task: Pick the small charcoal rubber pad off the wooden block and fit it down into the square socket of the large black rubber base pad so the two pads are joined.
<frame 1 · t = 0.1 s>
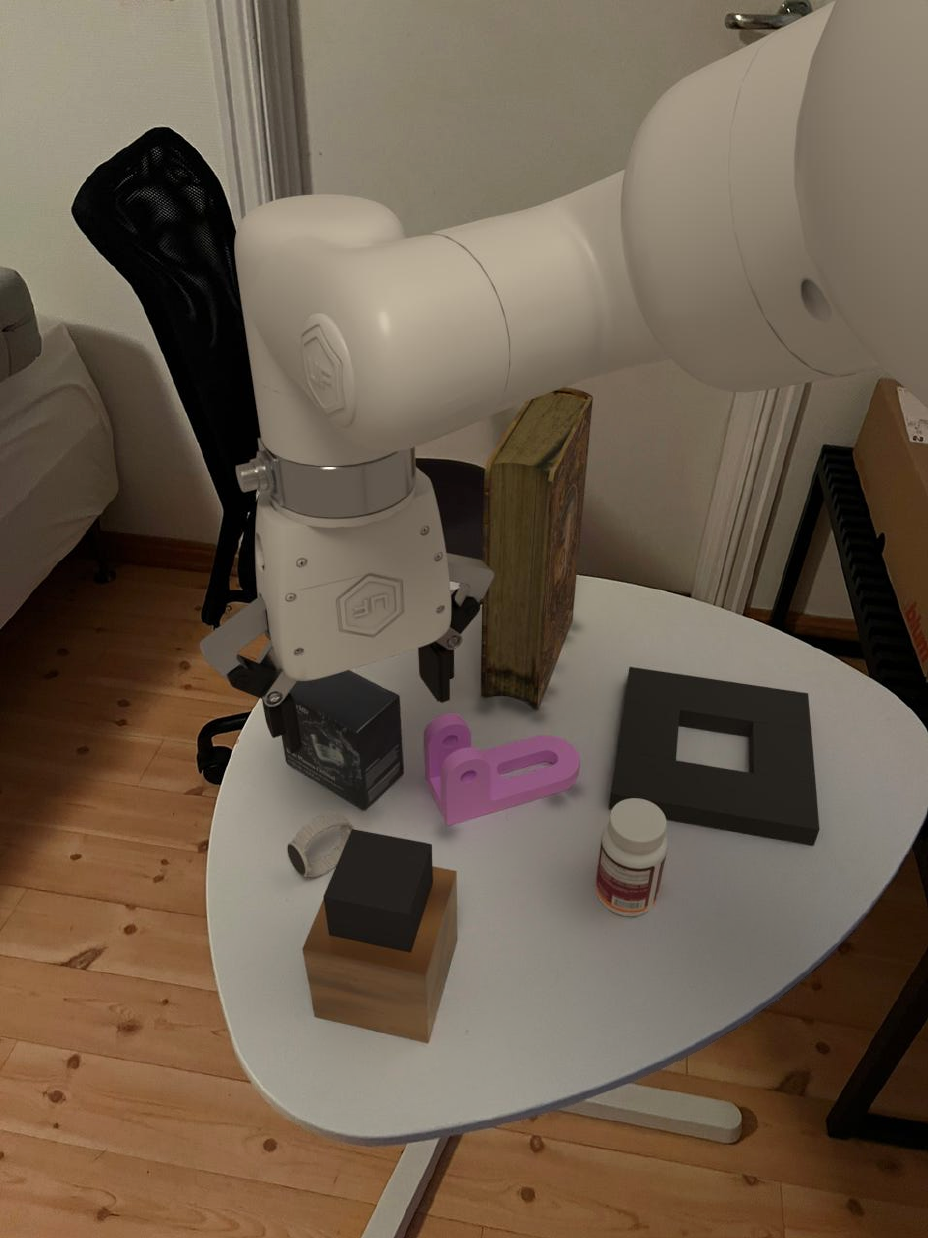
hand: (363, 712, 58), 20 cm above the table, tool pointing down, fingers open, 9 cm apart
base pad: (711, 756, 82), on the table
pill bottle: (625, 893, 71), on the table
book: (530, 656, 93), on the table
bracket: (507, 782, 80), on the table
pad: (382, 908, 61), point 8 cm above the table, touching wooden block
wristwatch: (326, 867, 73), on the table
wooden block: (388, 977, 65), on the table
box: (344, 771, 81), on the table
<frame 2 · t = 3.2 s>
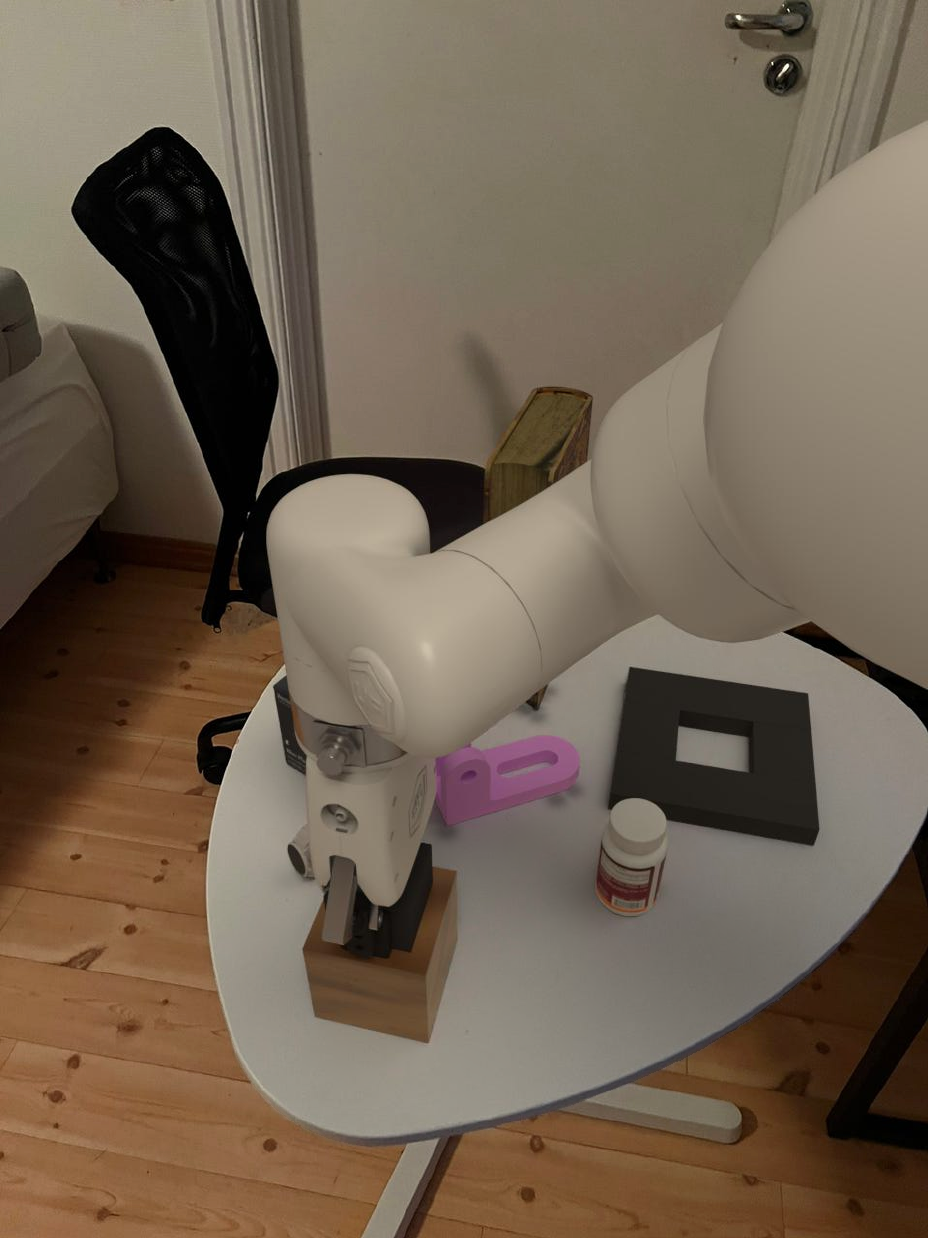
hand: (381, 906, 60), 8 cm above the table, tool pointing down, fingers open, 5 cm apart
pad: (382, 908, 61), point 8 cm above the table, touching gripper, wooden block
everything else where it was.
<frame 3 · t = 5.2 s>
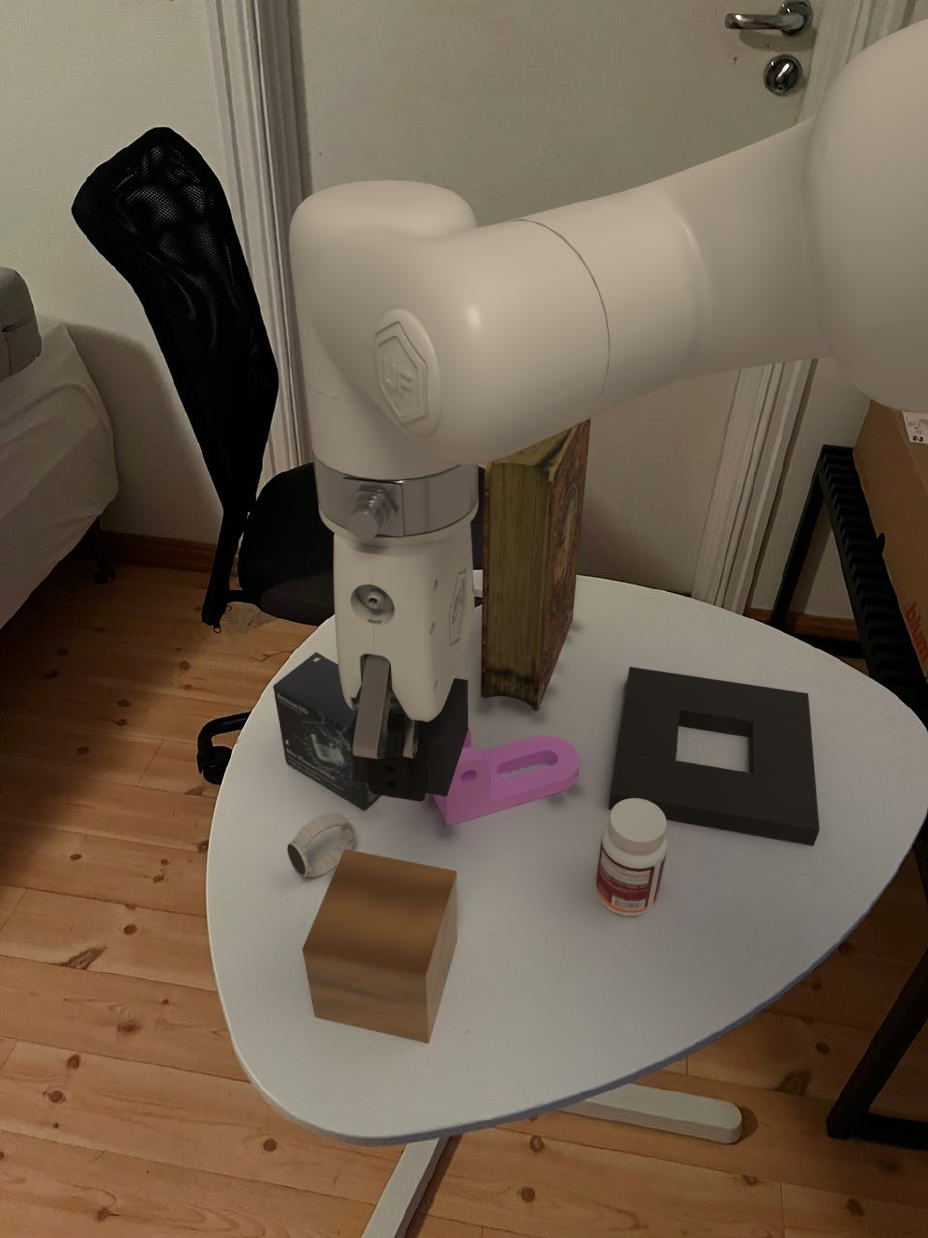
hand: (412, 752, 54), 21 cm above the table, tool pointing down, fingers closed on pad, 5 cm apart
pad: (412, 755, 54), point 21 cm above the table, touching gripper
everything else where it was.
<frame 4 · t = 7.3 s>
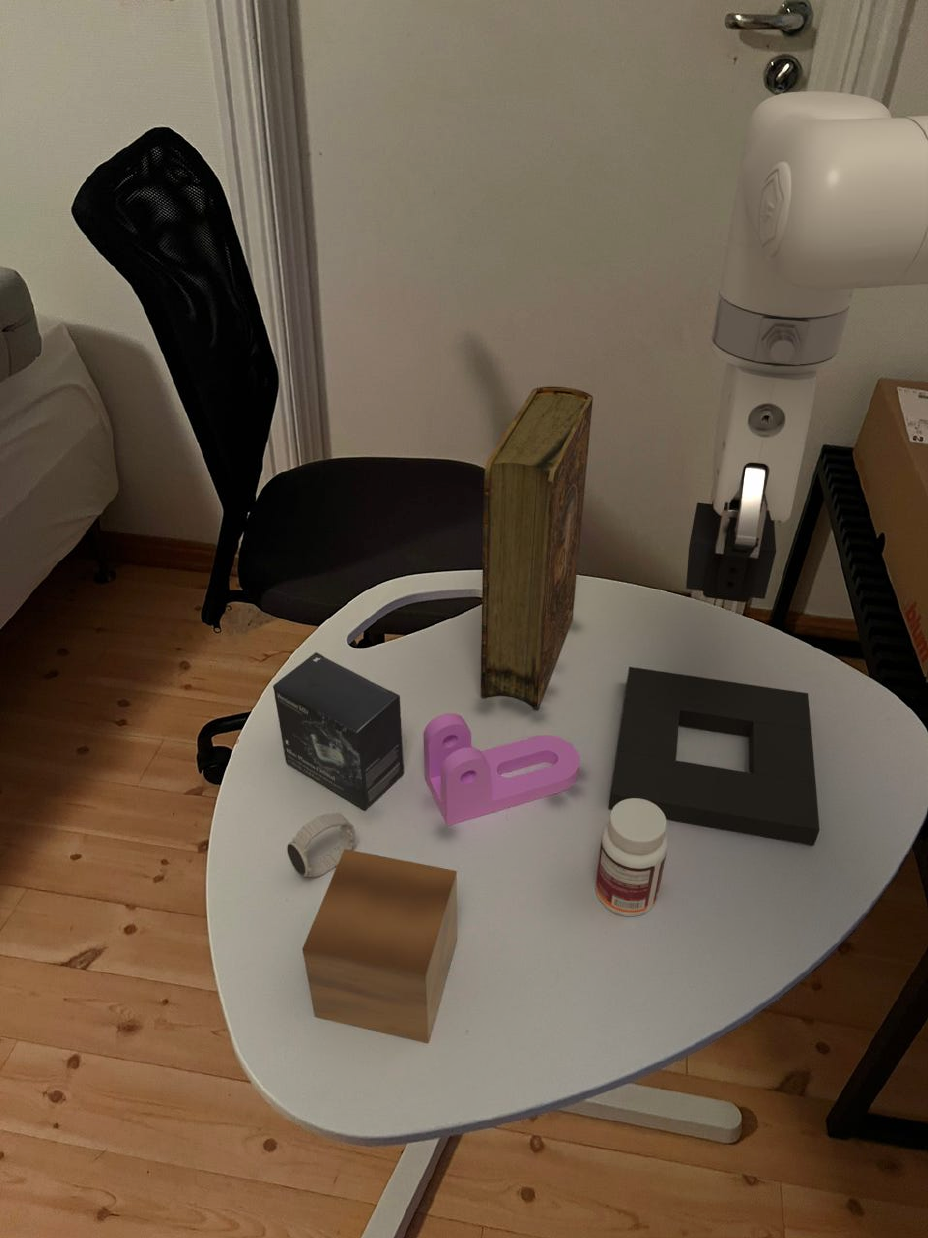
hand: (726, 570, 67), 21 cm above the table, tool pointing down, fingers closed on pad, 5 cm apart
pad: (725, 572, 68), point 21 cm above the table, touching gripper
everything else where it was.
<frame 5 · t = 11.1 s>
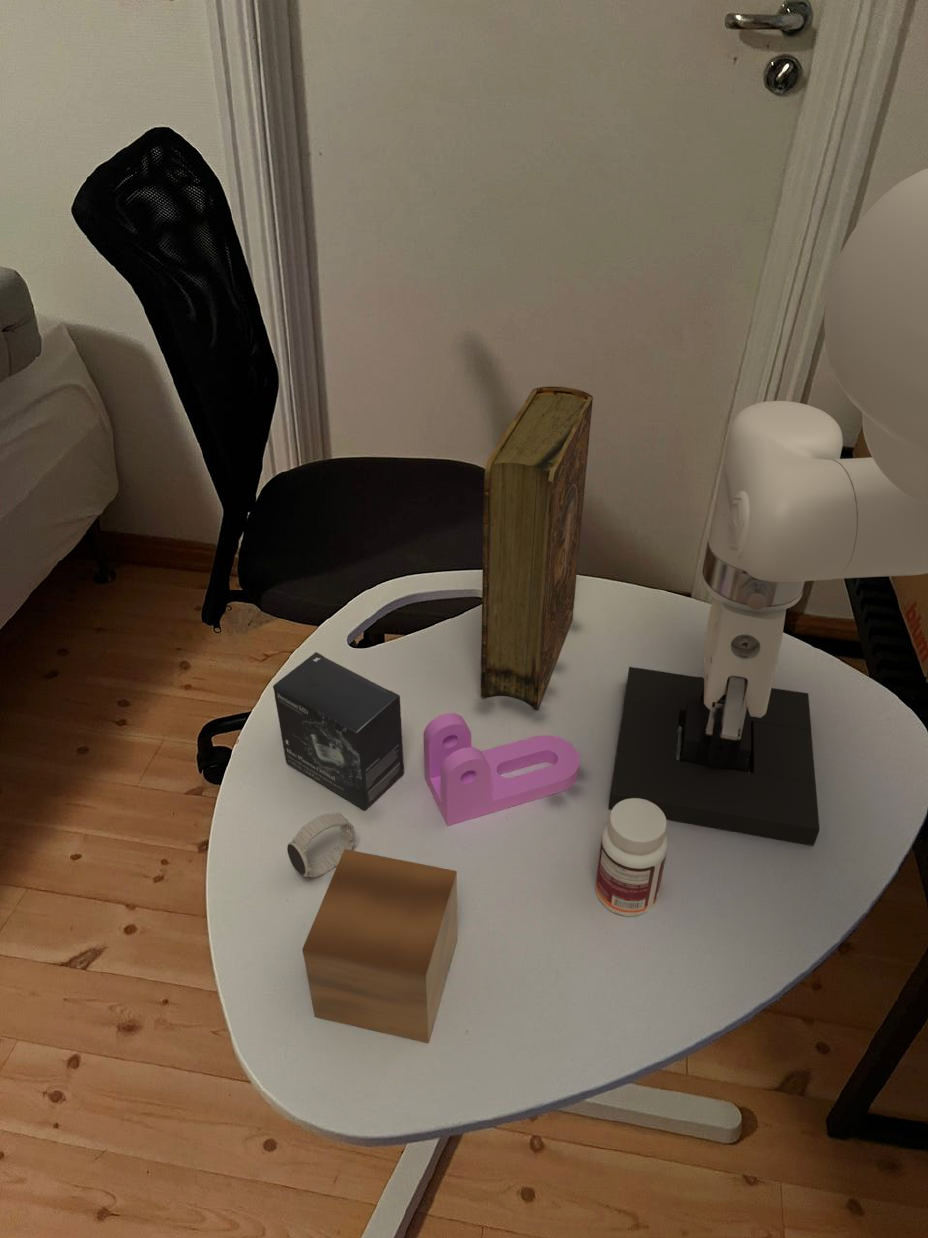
hand: (715, 737, 81), 2 cm above the table, tool pointing down, fingers closed on pad, 5 cm apart
pad: (711, 756, 82), resting in base pad, touching gripper
everything else where it was.
when the fingers open (2 cm above the table, at t = 12.1 s): pad stays where it is, resting in base pad.
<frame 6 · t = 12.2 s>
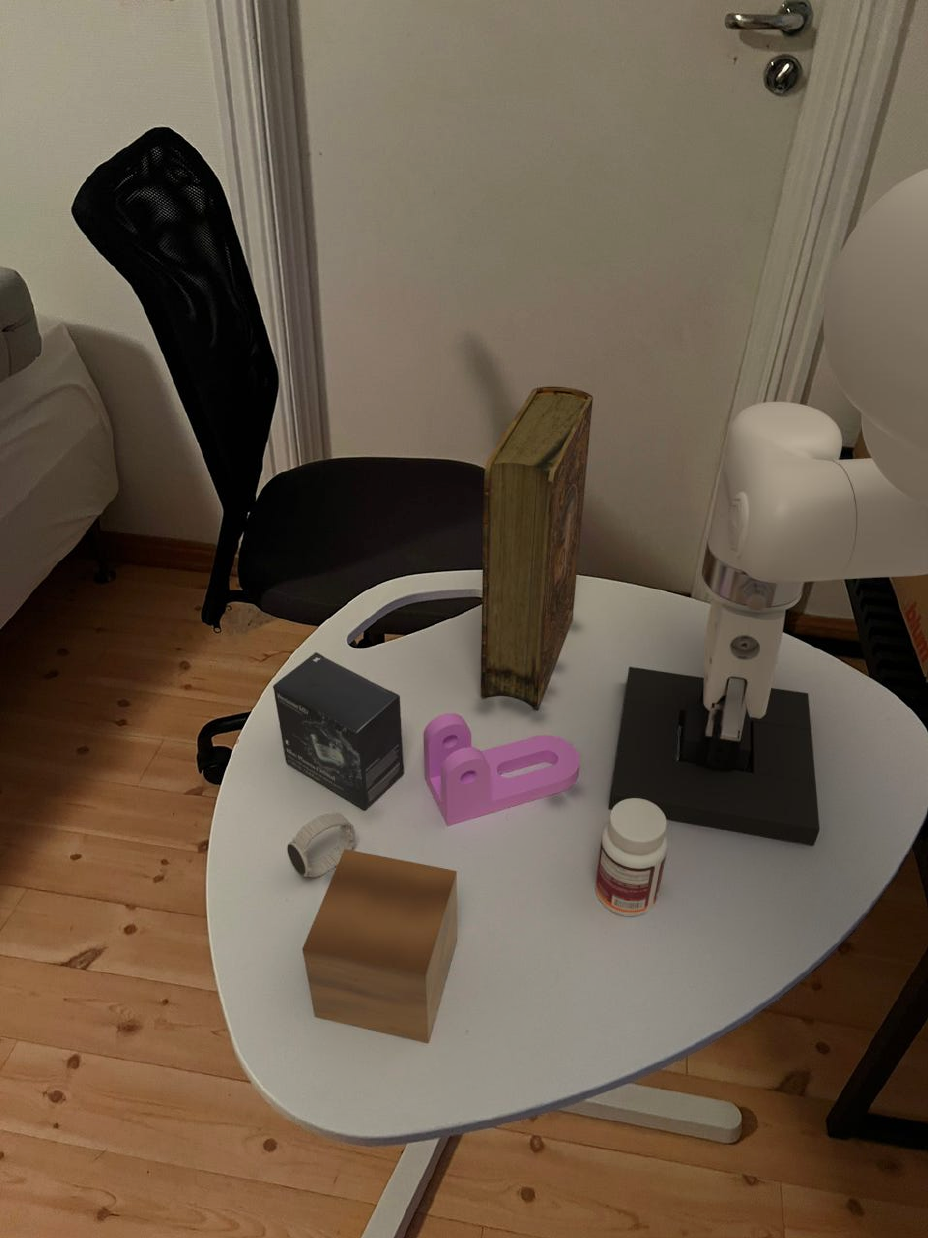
hand: (715, 737, 81), 2 cm above the table, tool pointing down, fingers open, 5 cm apart
pad: (710, 756, 82), resting in base pad
everything else where it was.
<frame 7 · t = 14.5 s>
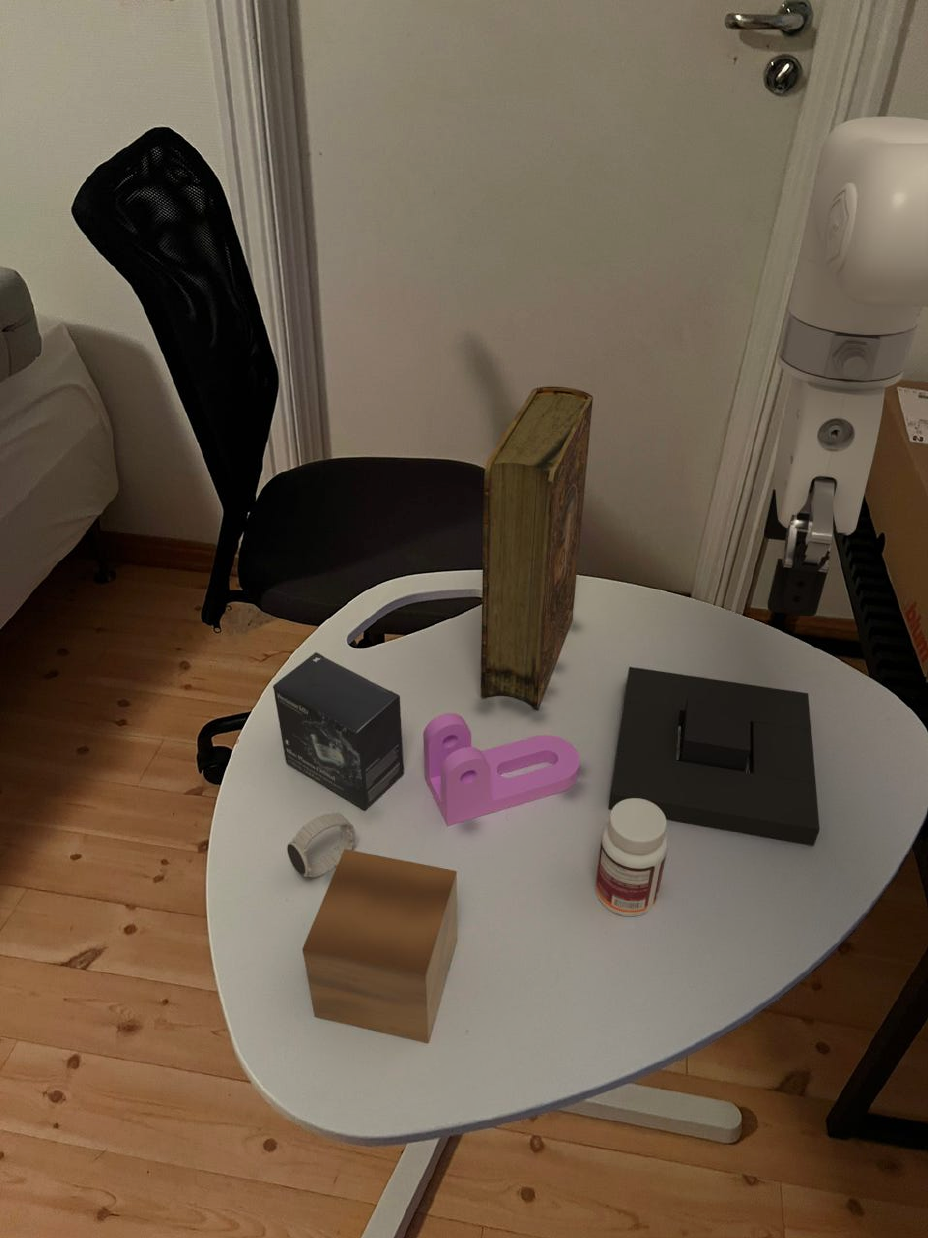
hand: (787, 573, 68), 21 cm above the table, tool pointing down, fingers open, 9 cm apart
nothing on the table moved.
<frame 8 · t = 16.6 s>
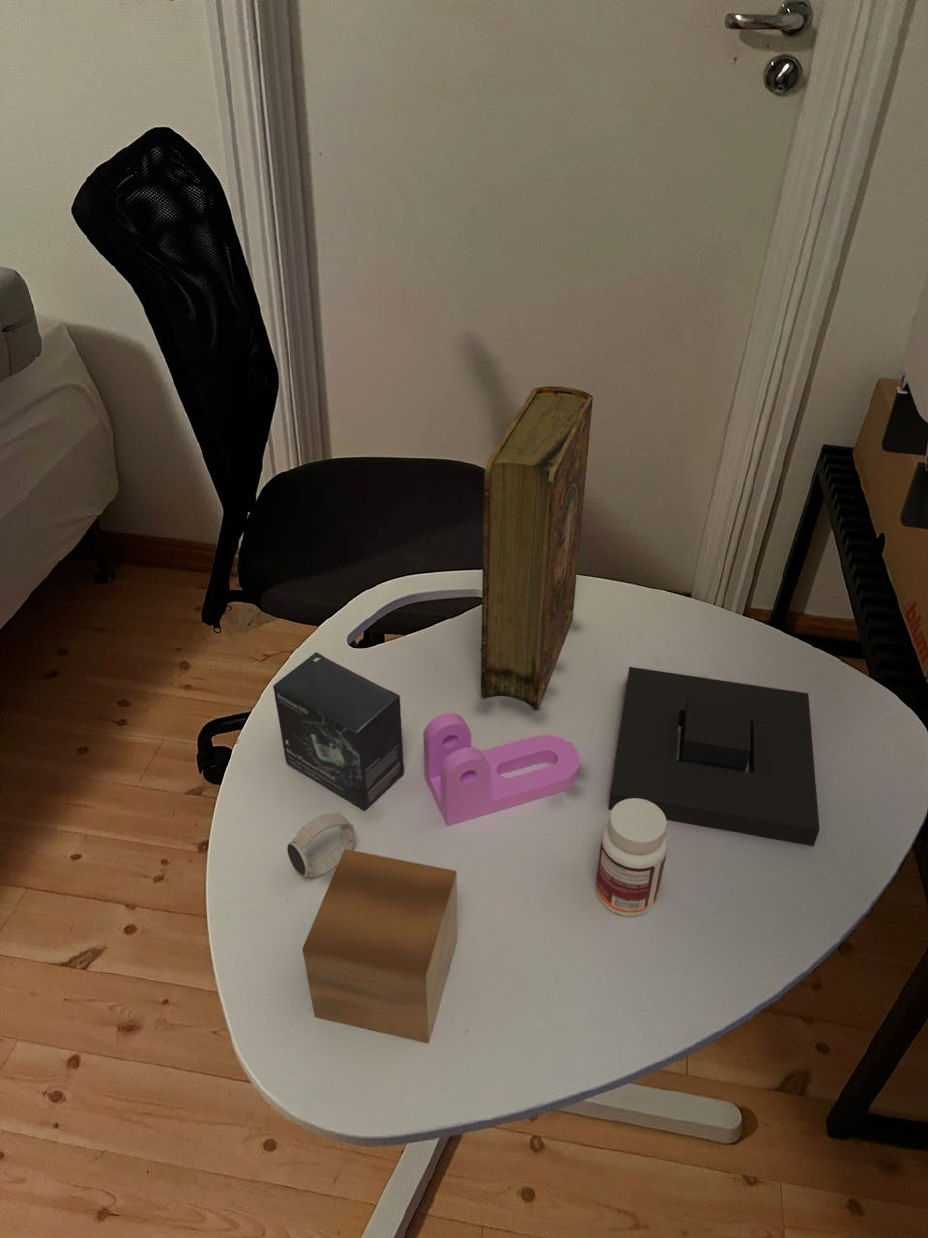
hand: (915, 486, 59), 30 cm above the table, tool pointing down, fingers open, 9 cm apart
nothing on the table moved.
at the end: pad 0.1 cm off-centre in the base pad, point 0.0 cm above the base pad's base; pad tilted 0°; the gripper is holding nothing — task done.
